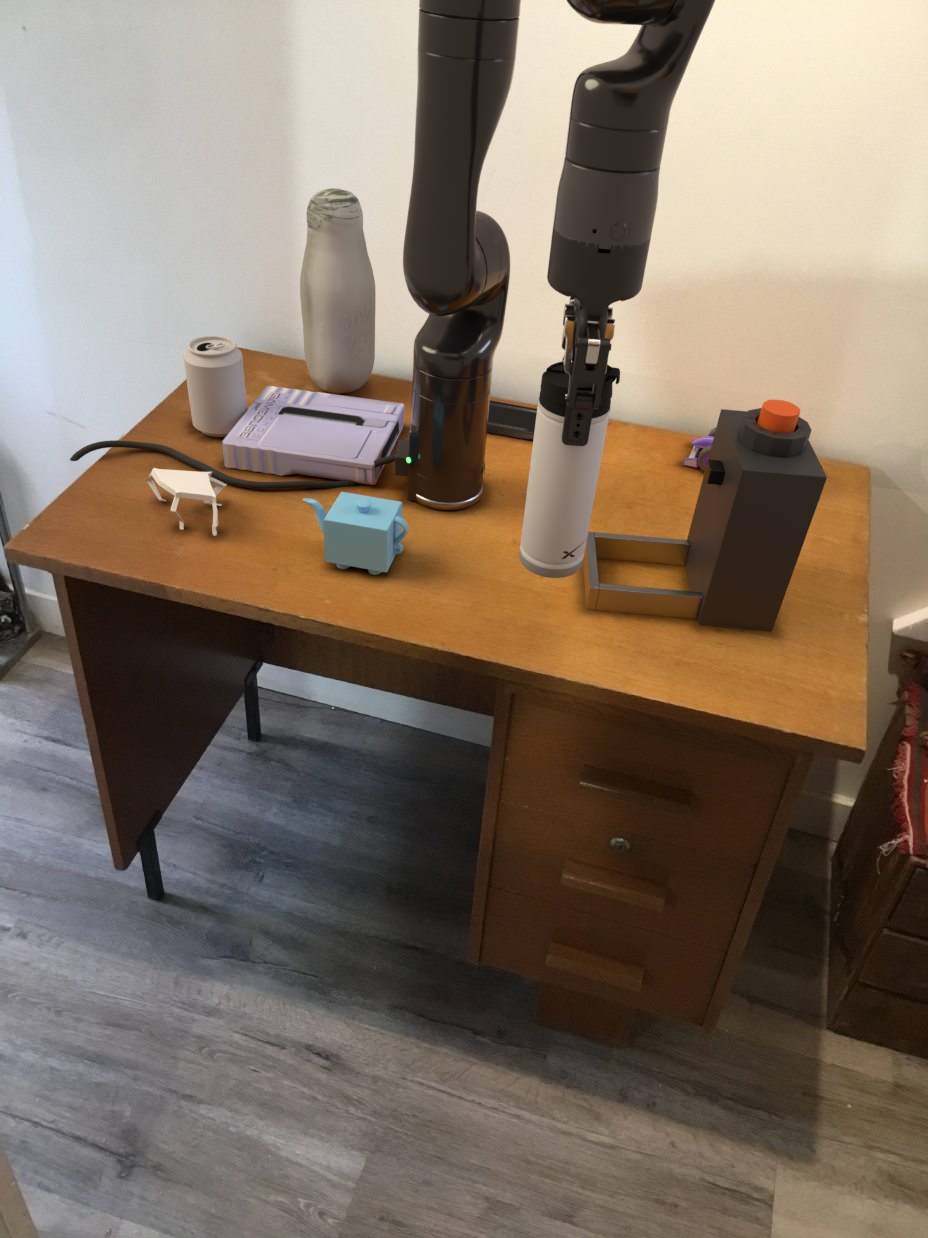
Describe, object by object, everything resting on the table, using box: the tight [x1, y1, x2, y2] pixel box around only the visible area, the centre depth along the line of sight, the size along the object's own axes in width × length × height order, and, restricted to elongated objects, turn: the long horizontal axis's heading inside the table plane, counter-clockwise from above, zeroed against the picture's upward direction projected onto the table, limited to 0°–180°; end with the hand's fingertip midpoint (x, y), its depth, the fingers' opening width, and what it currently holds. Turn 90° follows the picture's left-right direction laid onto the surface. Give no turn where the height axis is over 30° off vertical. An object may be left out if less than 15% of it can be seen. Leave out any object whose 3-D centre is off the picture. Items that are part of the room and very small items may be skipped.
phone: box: [487, 399, 537, 441], centre depth 131 cm, size 8×1×15 cm
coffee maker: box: [684, 407, 828, 632], centre depth 96 cm, size 8×13×21 cm, turn 177°
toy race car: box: [682, 427, 716, 472], centre depth 124 cm, size 10×15×6 cm, turn 68°
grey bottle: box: [299, 188, 376, 395], centre depth 128 cm, size 10×10×28 cm
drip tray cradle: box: [582, 459, 725, 620], centre depth 98 cm, size 12×11×16 cm
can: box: [183, 334, 248, 438], centre depth 122 cm, size 8×8×12 cm
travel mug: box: [518, 360, 621, 579], centre depth 83 cm, size 6×7×20 cm
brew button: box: [757, 399, 801, 433], centre depth 89 cm, size 4×4×2 cm
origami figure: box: [146, 467, 228, 537], centre depth 107 cm, size 12×8×5 cm
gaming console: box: [221, 385, 405, 486], centre depth 122 cm, size 18×4×20 cm
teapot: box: [302, 491, 409, 576], centre depth 101 cm, size 12×6×8 cm, turn 78°
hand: (572, 424), depth 80 cm, fingers closed on travel mug, 6 cm apart
